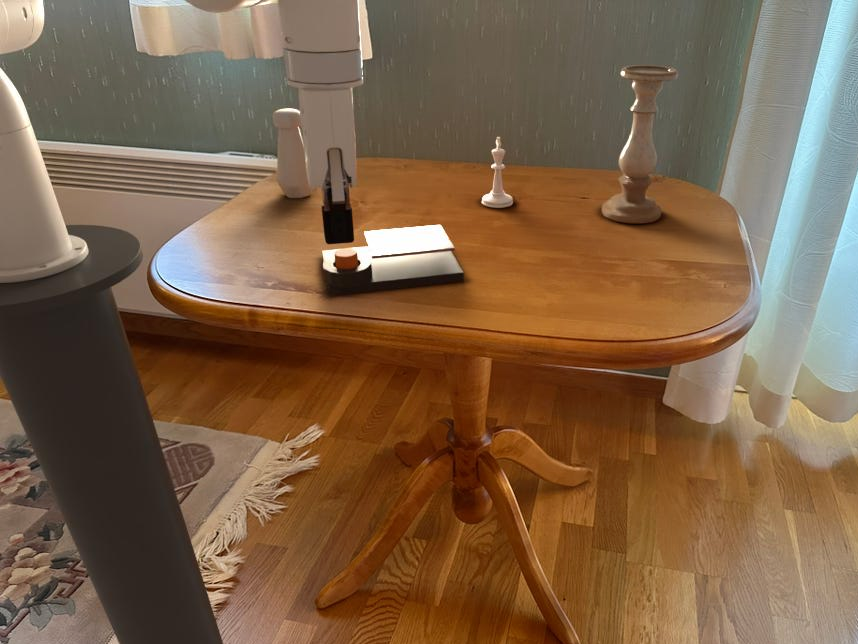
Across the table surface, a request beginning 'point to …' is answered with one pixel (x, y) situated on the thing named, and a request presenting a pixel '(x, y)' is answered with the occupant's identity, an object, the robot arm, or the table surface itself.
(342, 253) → the button
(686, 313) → the table surface
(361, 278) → the scale
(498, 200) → the chess piece
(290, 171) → the salt shaker
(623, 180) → the candle holder
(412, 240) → the weighing plate
